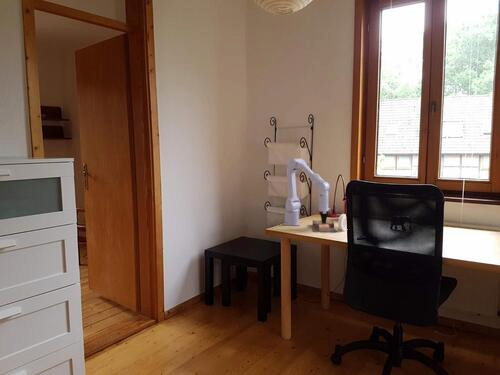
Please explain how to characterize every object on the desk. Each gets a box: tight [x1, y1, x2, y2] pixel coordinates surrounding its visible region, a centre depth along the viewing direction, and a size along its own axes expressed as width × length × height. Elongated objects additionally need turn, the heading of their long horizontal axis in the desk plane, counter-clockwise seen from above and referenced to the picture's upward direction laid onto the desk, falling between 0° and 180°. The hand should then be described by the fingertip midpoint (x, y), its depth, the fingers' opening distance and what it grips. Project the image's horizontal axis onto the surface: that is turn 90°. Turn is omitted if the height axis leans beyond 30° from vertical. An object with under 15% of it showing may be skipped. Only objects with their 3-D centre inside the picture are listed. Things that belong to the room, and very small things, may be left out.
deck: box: [312, 219, 335, 229], centre depth 250 cm, size 13×11×3 cm
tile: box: [319, 224, 330, 231], centre depth 239 cm, size 6×9×2 cm, turn 173°
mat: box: [312, 227, 338, 233], centre depth 239 cm, size 14×10×1 cm
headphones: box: [337, 213, 347, 232], centre depth 241 cm, size 22×2×10 cm, turn 139°
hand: (323, 223), depth 242 cm, fingers closed
